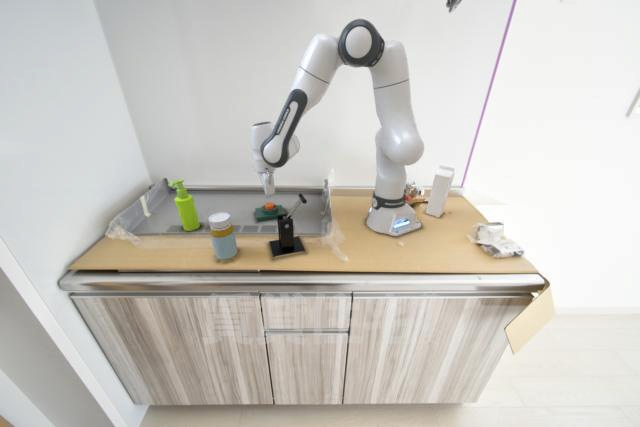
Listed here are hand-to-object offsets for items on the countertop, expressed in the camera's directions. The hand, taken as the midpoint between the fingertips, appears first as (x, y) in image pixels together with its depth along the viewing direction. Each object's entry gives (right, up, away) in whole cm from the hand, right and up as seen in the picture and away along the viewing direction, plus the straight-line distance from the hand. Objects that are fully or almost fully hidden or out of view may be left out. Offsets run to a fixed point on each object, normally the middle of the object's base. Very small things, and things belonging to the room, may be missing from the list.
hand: (267, 196), depth 102 cm
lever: (+14, -7, -22) cm, 27 cm away
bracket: (+10, -20, -17) cm, 28 cm away
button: (0, -5, +3) cm, 6 cm away
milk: (+75, -7, +8) cm, 76 cm away
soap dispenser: (-30, -13, -5) cm, 33 cm away
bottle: (-9, -22, -21) cm, 31 cm away
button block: (0, -8, +4) cm, 9 cm away
